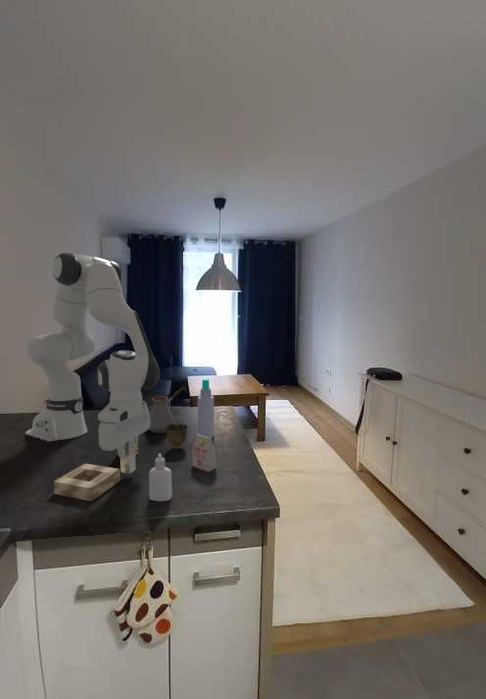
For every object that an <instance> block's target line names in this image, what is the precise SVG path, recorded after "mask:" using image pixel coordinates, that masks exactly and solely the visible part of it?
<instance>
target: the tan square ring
mask: <svg viewBox="0 0 486 699" xmlns="http://www.w3.org/2000/svg"><path fill="white" fill-rule="evenodd" d="M120 481H121V468H115V467H111V466H110V467H108V466H102V465H99V464H98V465H97V464H90V463H83V464H82V465H79V466H78V467H76V468H74V469H73V470H71V471H69V472H68V473H66V474H64V475H62V476H61V477H58V478H57V479H55V480H54V481H53V494H54V495H58V496H63V497H67V498H72V499H78V500H84V501H88V502H93V501H95V500H96V499H97V498H99V497H100V496H101V495H103V494H104V493H105V492H107V491H108V490H109V489H111V488H112V487H115V485H117V484H118V483H120Z"/></svg>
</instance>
